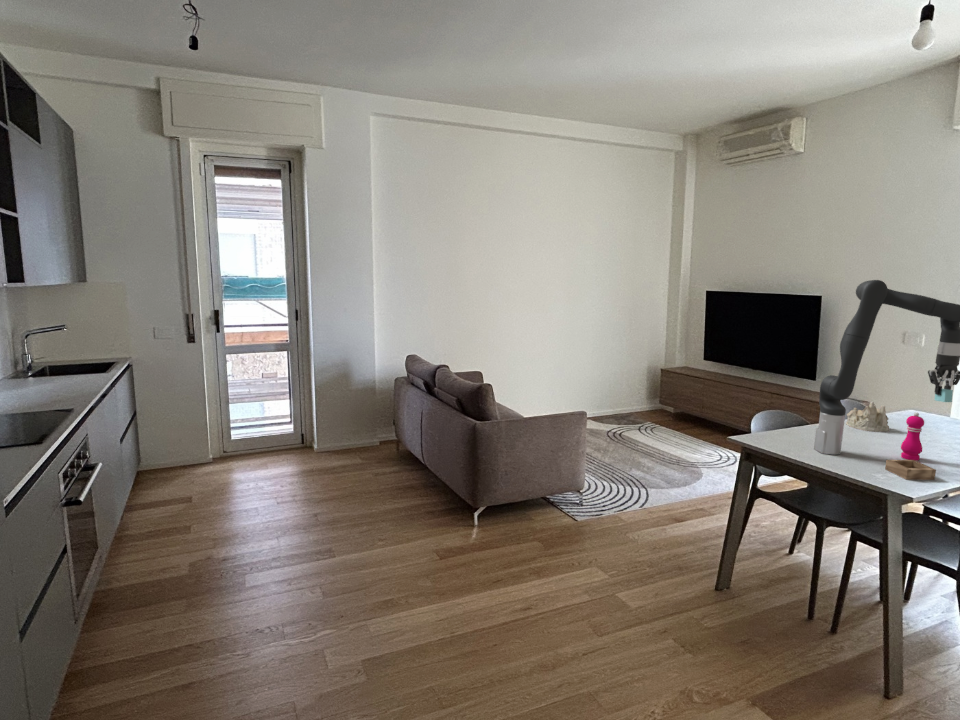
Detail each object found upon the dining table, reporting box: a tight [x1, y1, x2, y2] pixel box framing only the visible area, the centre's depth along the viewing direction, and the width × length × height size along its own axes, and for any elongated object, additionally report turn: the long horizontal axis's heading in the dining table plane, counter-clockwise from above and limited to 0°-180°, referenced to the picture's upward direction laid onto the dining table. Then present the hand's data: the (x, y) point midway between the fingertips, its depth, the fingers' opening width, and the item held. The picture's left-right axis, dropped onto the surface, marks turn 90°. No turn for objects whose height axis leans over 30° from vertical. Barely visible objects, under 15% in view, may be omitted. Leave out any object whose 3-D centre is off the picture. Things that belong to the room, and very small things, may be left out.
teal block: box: [934, 388, 954, 403], centre depth 234 cm, size 5×3×5 cm, turn 2°
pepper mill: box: [900, 411, 925, 462], centre depth 238 cm, size 7×7×20 cm
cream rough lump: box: [845, 401, 891, 433], centre depth 285 cm, size 16×16×15 cm
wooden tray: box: [885, 459, 937, 481], centre depth 220 cm, size 11×11×4 cm
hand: (942, 394), depth 235 cm, fingers closed on teal block, 3 cm apart
